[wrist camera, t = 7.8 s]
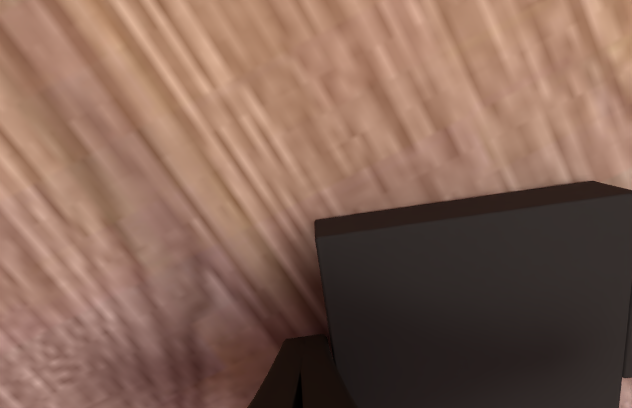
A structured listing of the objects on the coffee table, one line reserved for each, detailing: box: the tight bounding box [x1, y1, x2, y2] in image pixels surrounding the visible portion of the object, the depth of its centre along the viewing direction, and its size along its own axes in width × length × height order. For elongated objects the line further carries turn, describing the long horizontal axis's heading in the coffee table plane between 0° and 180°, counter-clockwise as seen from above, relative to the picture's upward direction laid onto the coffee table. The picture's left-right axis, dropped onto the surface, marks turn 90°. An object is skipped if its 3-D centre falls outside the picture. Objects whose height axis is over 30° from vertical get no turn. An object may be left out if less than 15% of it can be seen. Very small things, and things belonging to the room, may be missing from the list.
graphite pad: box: [315, 181, 632, 408], centre depth 10 cm, size 10×8×2 cm
